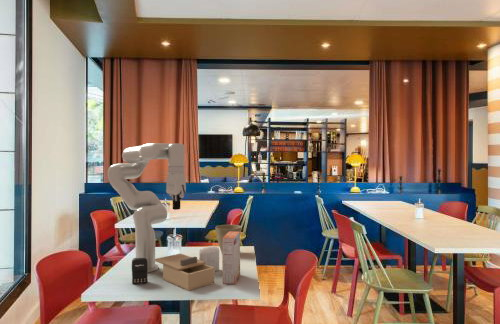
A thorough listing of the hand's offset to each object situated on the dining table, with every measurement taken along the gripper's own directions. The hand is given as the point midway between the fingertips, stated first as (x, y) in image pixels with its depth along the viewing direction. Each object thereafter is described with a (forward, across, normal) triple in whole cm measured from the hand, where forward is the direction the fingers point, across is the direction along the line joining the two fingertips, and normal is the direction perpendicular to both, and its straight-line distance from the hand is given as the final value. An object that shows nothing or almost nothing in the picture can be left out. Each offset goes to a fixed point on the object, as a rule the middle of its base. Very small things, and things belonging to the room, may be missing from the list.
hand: (176, 209), depth 171 cm
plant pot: (+32, -15, +45) cm, 57 cm away
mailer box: (+32, +8, +1) cm, 33 cm away
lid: (+25, +1, +1) cm, 25 cm away
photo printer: (+32, +3, +17) cm, 37 cm away
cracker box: (+32, +19, +17) cm, 41 cm away
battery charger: (+32, -5, -16) cm, 36 cm away
